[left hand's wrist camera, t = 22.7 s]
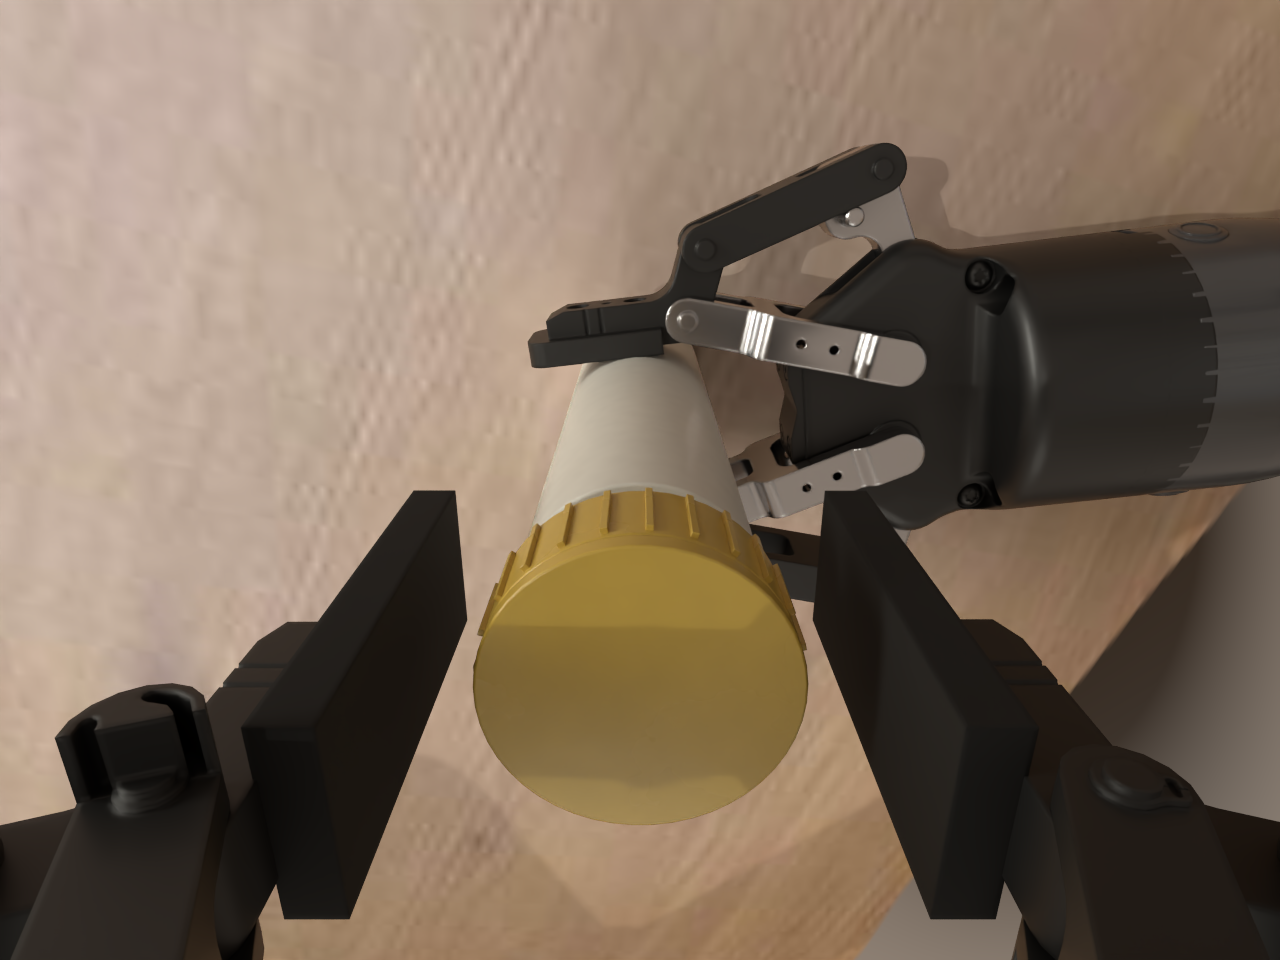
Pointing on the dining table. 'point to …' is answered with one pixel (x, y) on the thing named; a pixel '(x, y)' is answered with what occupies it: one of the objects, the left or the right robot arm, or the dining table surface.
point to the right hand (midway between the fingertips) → (549, 429)
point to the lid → (640, 660)
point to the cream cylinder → (641, 436)
